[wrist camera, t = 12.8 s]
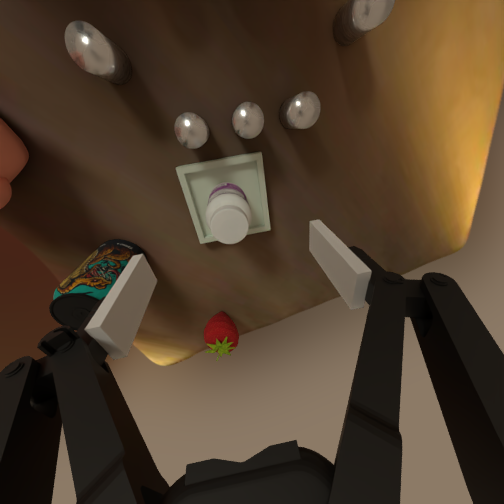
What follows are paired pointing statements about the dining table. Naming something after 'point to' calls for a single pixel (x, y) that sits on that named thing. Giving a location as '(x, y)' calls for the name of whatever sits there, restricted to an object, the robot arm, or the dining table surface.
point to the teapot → (10, 160)
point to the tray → (219, 171)
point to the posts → (246, 114)
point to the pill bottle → (228, 213)
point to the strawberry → (221, 334)
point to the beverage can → (91, 282)
